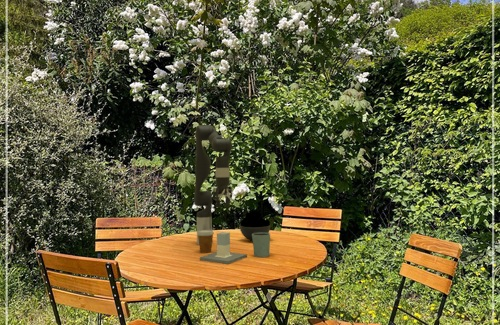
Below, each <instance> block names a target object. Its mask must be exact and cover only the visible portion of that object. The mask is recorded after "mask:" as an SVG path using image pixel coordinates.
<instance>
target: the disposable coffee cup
mask: <svg viewBox="0 0 500 325" xmlns="http://www.w3.org/2000/svg"><path fill="white" fill-rule="evenodd" d="M197 234H198V239H199V245H198V246H199V252H200V253H201V254H208V253H209V254H210V253H212V247H213V246H212V245H213V243H212V239H213V237H214V231H212V230H200V231H198V233H197V232H196V235H197ZM213 240H214V239H213Z"/></svg>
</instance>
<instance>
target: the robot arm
mask: <svg viewBox="0 0 500 325" xmlns="http://www.w3.org/2000/svg"><path fill="white" fill-rule="evenodd" d="M203 141H205V142H206V141H208V143H209V144H210V145H211V146H212V150H213V152H215V153H223V154H222V155H220V156H217V157H216V158H215V185H216V186H217V187H213V191H212V192H211V191H210V190H203V191H202V190H201V189H202V186H203V184H204V182H205V181H206V180H207V178H208V177H209V175H210V173H211V167H212V166H211V165H212V164H211V163H212V161H211V159H210V157H209V155H208V154H207V152H206V150H205V148H204V146H203ZM232 149H233V143H232V140H231V139H229V138H223V137H222V136H221V135H219V134H218V132H217V130H216V128H215V127H214V126H213V125H211V124H203V125H202V124H199V125H196V128H195V167H194V168H195V175H194V176H195V179H194V180H195V182H194V184H195V185H194V194H193V196H194V197H193V203H194V205H195V206H196V207H205V208H203V209H202V210H200V211H198V212H196V245H197V246H199V239H198V234H197V233H198V231H200V230H212V231H213V227H212V225H213V224H212V223H213V222H212V221H213V220H212V204H213V202H212V201H213V200H214V201H215V207H216V208H221V199H222V197H223V196H224V198H225V199H224V201H225V207H230V204H231V203H230V199H231V198H233V186H230V184H231V183H230V182H231V180H230V178H231V177H230V173H231V172H230V156H231V152H232ZM212 199H213V200H212ZM213 232H214V231H213ZM212 244H214V239H212Z"/></svg>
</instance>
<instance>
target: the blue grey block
mask: <svg viewBox="0 0 500 325" xmlns="http://www.w3.org/2000/svg"><path fill="white" fill-rule="evenodd" d="M229 244H230V245H231V232H223V231H221V232H218V233H216V246H217V245H223V246H225V245H229Z"/></svg>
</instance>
